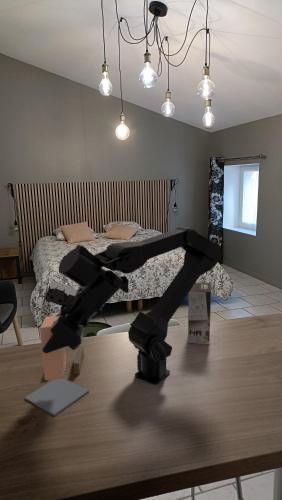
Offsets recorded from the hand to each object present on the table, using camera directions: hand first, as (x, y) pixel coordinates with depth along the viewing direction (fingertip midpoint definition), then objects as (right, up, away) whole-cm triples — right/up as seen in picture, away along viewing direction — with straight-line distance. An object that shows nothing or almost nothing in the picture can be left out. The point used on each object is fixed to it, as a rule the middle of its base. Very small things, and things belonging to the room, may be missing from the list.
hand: (47, 344), depth 76 cm
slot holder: (+1, -9, +15) cm, 18 cm away
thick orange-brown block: (+2, -6, +1) cm, 7 cm away
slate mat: (+2, -12, +3) cm, 13 cm away
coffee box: (+38, -6, +30) cm, 49 cm away
